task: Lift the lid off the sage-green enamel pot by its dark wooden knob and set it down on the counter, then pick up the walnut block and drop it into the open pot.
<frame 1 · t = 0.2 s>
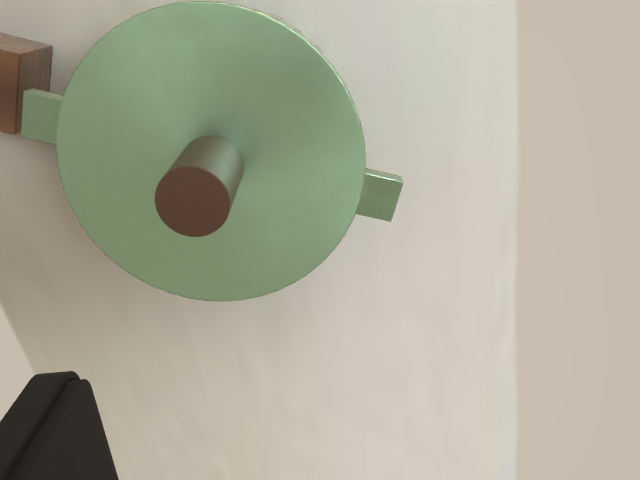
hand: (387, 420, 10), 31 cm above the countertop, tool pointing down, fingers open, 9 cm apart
pot: (233, 127, 39), on the countertop
pot lid: (213, 163, 31), point 8 cm above the countertop, touching pot
block: (12, 74, 37), on the countertop
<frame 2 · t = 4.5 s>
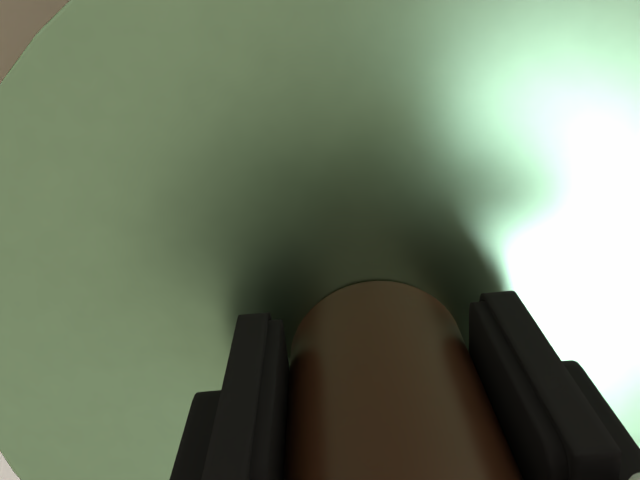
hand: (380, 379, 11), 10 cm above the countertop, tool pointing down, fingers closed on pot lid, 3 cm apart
pot lid: (373, 338, 12), point 9 cm above the countertop, touching gripper, pot
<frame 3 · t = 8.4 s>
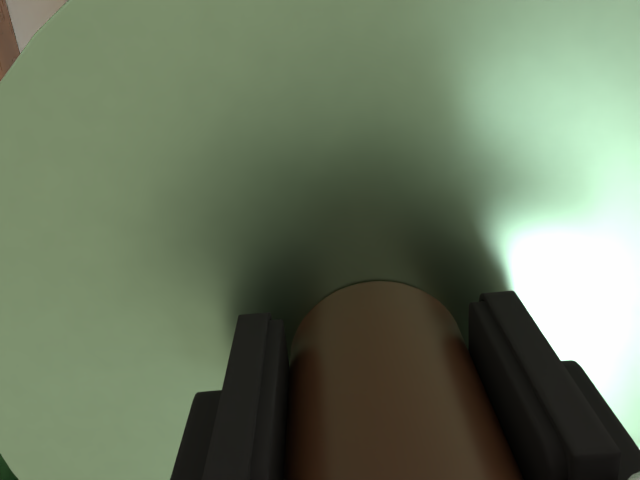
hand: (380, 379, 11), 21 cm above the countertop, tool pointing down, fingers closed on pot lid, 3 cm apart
pot lid: (373, 339, 12), point 20 cm above the countertop, touching gripper
when the fingers open (2 cm above the countertop, at t = 12.8 s): pot lid stays where it is, point 1 cm above the countertop.
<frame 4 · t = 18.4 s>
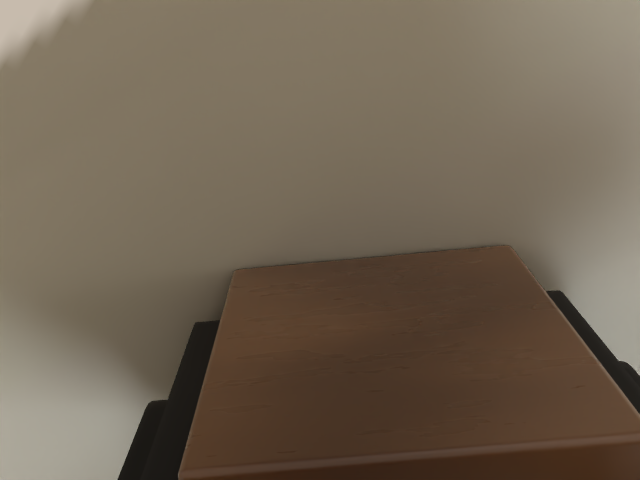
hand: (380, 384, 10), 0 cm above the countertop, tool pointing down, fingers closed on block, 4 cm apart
block: (378, 371, 11), on the countertop, touching gripper
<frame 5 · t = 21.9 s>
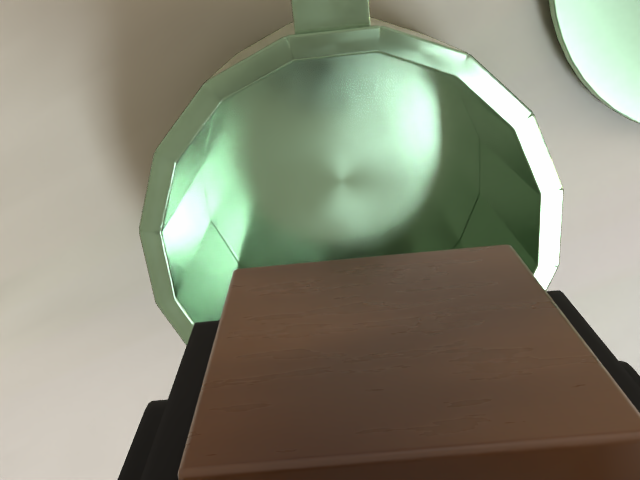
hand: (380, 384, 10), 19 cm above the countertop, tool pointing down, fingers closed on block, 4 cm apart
pot: (341, 177, 29), on the countertop
block: (378, 370, 11), point 19 cm above the countertop, touching gripper
when the fingers open (7 cm above the countertop, at t = 25.4 s): block drops 6 cm, resting on pot.
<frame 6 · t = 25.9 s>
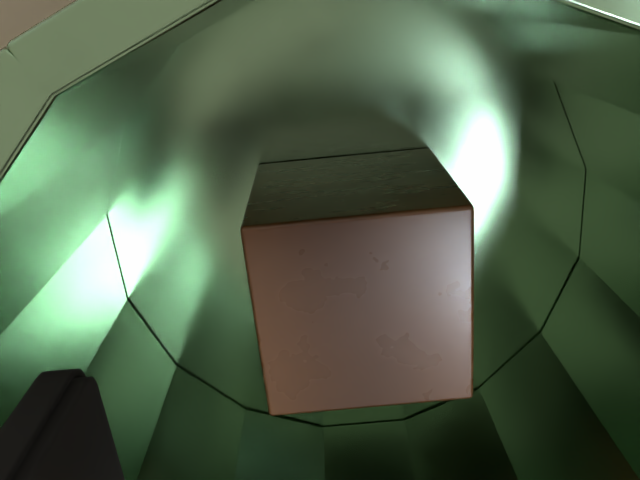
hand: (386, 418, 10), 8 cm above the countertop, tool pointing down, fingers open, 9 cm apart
pot: (347, 229, 17), on the countertop
block: (350, 235, 17), point 1 cm above the countertop, touching pot
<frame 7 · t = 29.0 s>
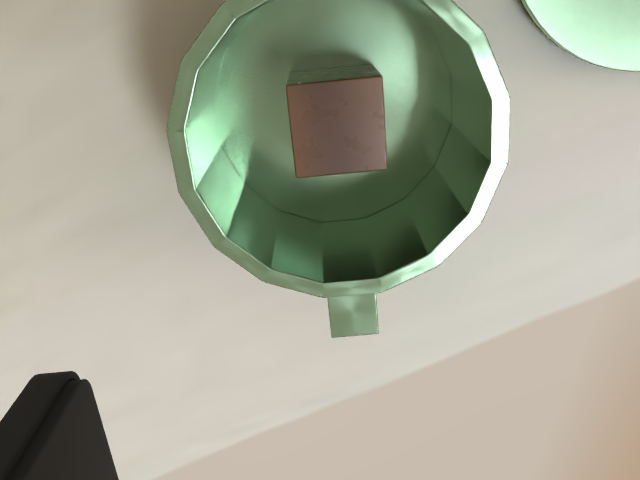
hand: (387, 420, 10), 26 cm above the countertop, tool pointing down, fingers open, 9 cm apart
pot: (333, 109, 34), on the countertop
block: (334, 110, 33), point 1 cm above the countertop, touching pot
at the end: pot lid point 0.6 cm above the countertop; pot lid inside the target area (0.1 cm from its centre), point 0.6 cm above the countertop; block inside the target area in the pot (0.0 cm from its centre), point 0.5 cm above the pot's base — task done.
